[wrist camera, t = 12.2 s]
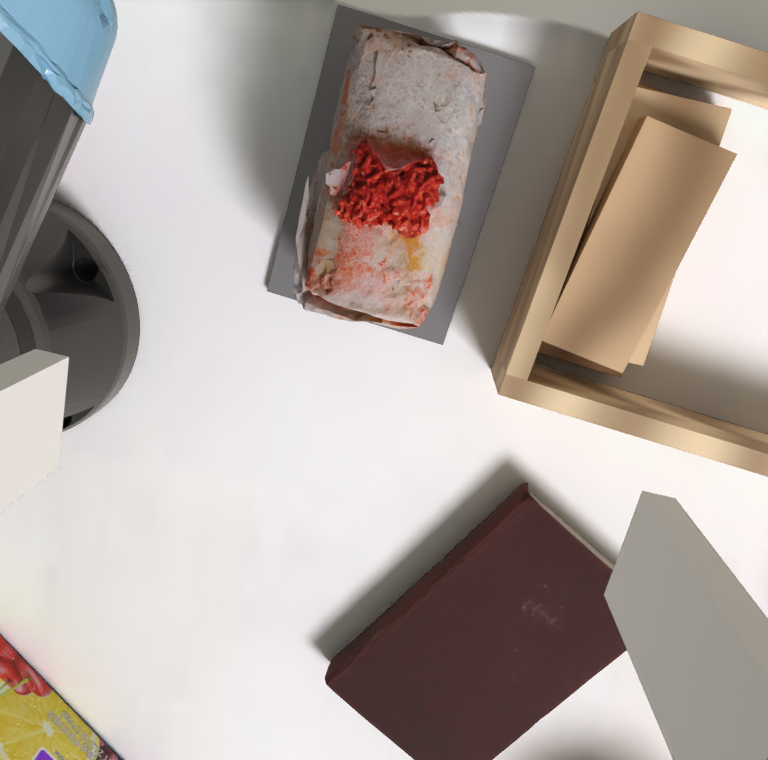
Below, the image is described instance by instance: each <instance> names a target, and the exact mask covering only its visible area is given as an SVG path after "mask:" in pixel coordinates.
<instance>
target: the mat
mask: <svg viewBox="0 0 768 760" xmlns="http://www.w3.org/2000/svg"><path fill="white" fill-rule="evenodd" d="M360 25H366V26H372V27H378V28H384V29H390V30H397V31H402V32H407V33H411V34H415V35H419V36H422V37H426V38H429V39H433V40H442V41H447V42H448V43H451V42H453V41H452V40H449V39H446V38H442V37H439V36H436V35H433V34H430V33H427V32H423V31H420V30H417V29H414V28H411V27H408V26H404V25H401V24H398V23H395V22H392V21H388V20H385V19H382V18H379V17H376V16H373V15H369V14H366V13H363V12H360V11H357V10H354V9H350V8H347V7H344V6H341V5H338V7H337V11H336V15H335V19H334V23H333V27H332V31H331V35H330V39H329V43H328V47H327V51H326V55H325V59H324V63H323V67H322V72H321V76H320V80H319V84H318V88H317V92H316V96H315V100H314V104H313V108H312V112H311V116H310V120H309V124H308V128H307V132H306V136H305V140H304V144H303V148H302V152H301V156H300V160H299V164H298V168H297V172H296V176H295V180H294V184H293V188H292V192H291V196H290V200H289V204H288V208H287V212H286V216H285V220H284V224H283V228H282V232H281V237H280V241H279V245H278V249H277V253H276V257H275V261H274V265H273V269H272V273H271V277H270V281H269V285H268V289H267V291H268V292H271V293H275V294H278V295H281V296H284V297H288V298H291V299H294V300H296V298H295V297H294V293H293V289H292V288H293V287H294V285H295V281H294V275H293V266H294V261H295V251H296V246H295V238H296V234H297V229H298V220H299V214H300V211H301V207H302V202H303V195H304V187H305V182H306V179H307V177H308V189H310V187H311V185H312V181H313V175H314V174H315V170H316V167H317V163H318V160H319V158H320V156H321V154H323V153H325V152H326V151H328V150H330V139H331V134H332V128H333V118H334V115H335V112H336V107H337V103H338V100H339V90H340V87H341V86H342V83H343V79H344V71H345V66H346V63H347V60H348V55H349V52H350V48H351V44H350V41H351V39H352V36H353V33H354V30H355V27H356V26H360ZM457 43H458V42H457ZM458 45H459V47H465V48H466V49H467V50H468V51H470V52H472V53H474V55H475V56H476V57H477V59H478V60H479V61H480V62H481V64H482V66H483V69H484V70H485V72H487V73H488V74H487V87H486V89H485V90H486V93H485V95H486V105H487V106H486V107H484V112H483V116H482V120H481V124H480V125H479V126H478V129H477V133H478V135H479V137H477V136H476V137H475V141H474V144H473V150H472V152H471V162H470V166H469V170H468V174H467V179H466V184H465V188H464V198H463V202H462V206H461V210H460V214H459V218H458V220H459V221H461V225H460V228H458V227H457V226H456V229H455V233H454V236H453V239H452V245H451V249H450V252H449V256H448V259H447V263H446V266H445V270H444V273H443V277H442V280H441V283H440V287H439V290H438V293H437V297H436V299H435V301H434V303H433V306H432V307H431V309H430V310H429V312H428V314H427V316H426V318H425V320H424V321H423V322H422V324H421V325H420V326H419V327H417V328H409V329H397V328H392V327H388V326H384V325H380V324H376V323H374V322H371V321H366V322H369V323H373V324H376V325H379V326H382V327H386V328H389V329H392V330H396V331H399V332H402V333H405V334H409V335H412V336H415V337H418V338H422V339H425V340H428V341H431V342H435V343H438V344H441V345H443V343H444V340H445V337H446V334H447V331H448V328H449V325H450V322H451V319H452V316H453V313H454V310H455V307H456V304H457V301H458V298H459V295H460V292H461V289H462V286H463V283H464V280H465V277H466V274H467V271H468V267H469V264H470V261H471V258H472V255H473V252H474V249H475V246H476V243H477V240H478V237H479V234H480V231H481V228H482V225H483V222H484V219H485V216H486V213H487V210H488V207H489V204H490V201H491V198H492V195H493V192H494V189H495V186H496V183H497V180H498V177H499V174H500V171H501V168H502V165H503V162H504V159H505V156H506V153H507V150H508V147H509V144H510V141H511V138H512V135H513V132H514V129H515V126H516V123H517V120H518V117H519V114H520V111H521V108H522V105H523V102H524V99H525V96H526V93H527V90H528V87H529V84H530V81H531V78H532V75H533V72H534V69H535V67H534V66H531V65H528V64H525V63H522V62H519V61H515V60H512V59H509V58H506V57H503V56H500V55H496V54H493V53H490V52H487V51H484V50H481V49H477V48H474V47H471V46H468V45H465V44H461V43H458Z"/></svg>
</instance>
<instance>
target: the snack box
mask: <svg viewBox="0 0 768 760" xmlns="http://www.w3.org/2000/svg"><path fill="white" fill-rule="evenodd" d="M0 760H120V759H119V758H118V757H117V756H116V755H115V754H114V753H113V752H112V751H111V750H110V749H109V748H108V747H107V745H106V744H105V743H104V742H103V741H102V740H101V739H100V738H99V737H98V736H97V735H96V734H95V733H94V732H93V731H92V730H91V729H90V728H89V727H88V726H87V725H86V724H85V723H84V722H83V721H82V720H81V719H80V718H79V717H78V716H77V715H76V713H75V712H74V711H73V710H72V709H71V708H70V707H69V706H68V705H67V704H66V703H65V702H64V701H63V700H62V699H61V698H60V697H59V696H58V695H57V694H56V693H55V692H54V691H53V690H52V689H51V688H50V687H49V686H48V685H47V684H46V683H45V682H44V680H43V679H42V678H41V677H40V676H39V675H38V674H37V673H36V672H35V671H34V670H33V669H32V668H31V667H30V666H29V665H28V664H27V663H26V662H25V661H24V660H23V659H22V658H21V657H20V656H19V654H18V653H17V652H16V651H15V650H14V649H13V648H12V647H11V646H10V645H9V644H8V643H7V642H6V641H5V640H4V639H3V638H2V637H1V636H0Z"/></svg>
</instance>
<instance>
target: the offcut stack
mask: <svg viewBox="0 0 768 760" xmlns="http://www.w3.org/2000/svg"><path fill="white" fill-rule="evenodd" d="M731 110H732V109H730V108H725V107H721V106H717V105H713V104H708V103H704V102H700V101H695V100H691V99H687V98H683V97H680V96H677V95H673V94H670V93H667V92H664V91H661V90H657V89H654V88H651V87H648V86H645V85H642V84H638V87H637V89H636V92H635V95H634V97H633V100H632V103H631V105H630V108H629V111H628V113H627V116H626V119H625V121H624V124H623V127H622V129H621V132H620V135H619V137H618V140H617V142H616V145H615V148H614V150H613V153H612V156H611V158H610V161H609V164H608V166H607V169H606V172H605V174H604V177H603V180H602V182H601V185H600V188H599V190H598V193H597V196H596V198H595V201H594V204H593V206H592V209H591V212H590V214H589V217H588V220H587V222H586V225H585V228H584V230H583V233H582V236H581V238H580V241H579V244H578V246H577V249H576V252H575V254H574V257H573V260H572V262H571V265H570V268H569V270H568V273H567V276H566V278H565V281H564V284H563V286H562V289H561V292H560V294H559V297H558V300H557V302H556V305H555V308H554V310H553V313H552V316H551V318H550V321H549V324H548V326H547V329H546V332H545V334H544V337H543V340H542V342H541V345H540V348H539V350H538V352H539V353H542V354H545V355H549V356H552V357H555V358H558V359H562V360H565V361H568V362H571V363H575V364H578V365H581V366H584V367H588V368H591V369H594V370H597V371H601V372H604V373H607V374H610V375H614V376H617V377H620V378H621V375H622V373H623V372H624V370H625V368H626V366H627V364H628V363H633V364H637V365H641V366H643V365H644V363H645V360H646V357H647V354H648V351H649V348H650V345H651V342H652V339H653V336H654V334H655V331H656V328H657V325H658V322H659V319H660V316H661V313H662V310H663V308H664V305H665V302H666V299H667V296H668V293H669V290H670V287H671V284H672V281H673V279H674V276H675V273H676V270H677V268H678V266H679V264H680V263H681V261H682V259H683V257H684V255H685V253H686V251H687V249H688V247H689V245H690V243H691V241H692V240H693V238H694V236H695V234H696V232H697V230H698V228H699V226H700V224H701V222H702V220H703V218H704V217H705V215H706V213H707V211H708V209H709V207H710V205H711V203H712V201H713V199H714V197H715V195H716V194H717V192H718V190H719V188H720V186H721V184H722V182H723V180H724V178H725V176H726V174H727V172H728V171H729V169H730V167H731V165H732V163H733V161H734V159H735V157H736V155H737V154H736V153H733V152H731V151H728V150H726V149H724V148H721V147H719V145H720V142H721V139H722V136H723V134H724V131H725V128H726V125H727V122H728V119H729V116H730V114H731Z"/></svg>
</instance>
